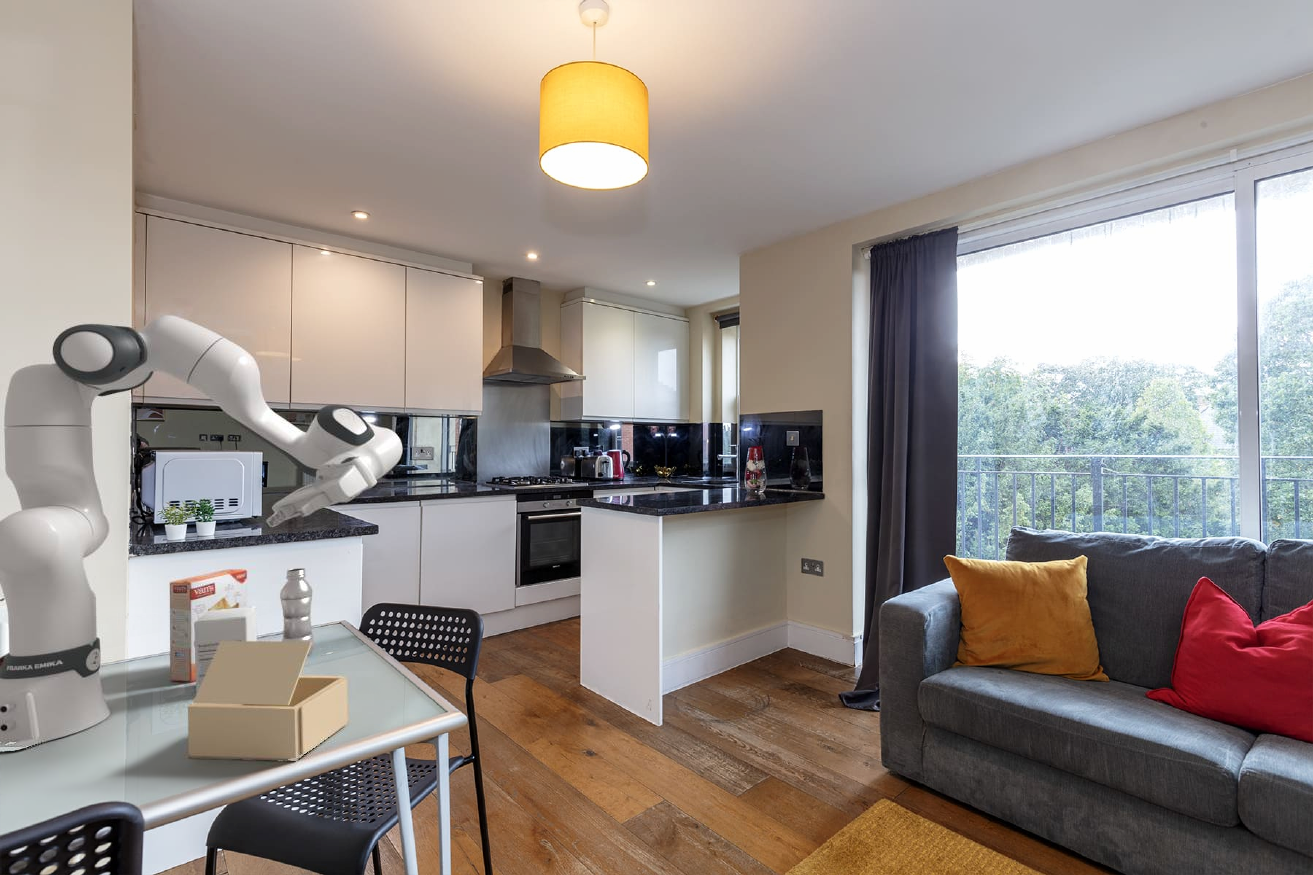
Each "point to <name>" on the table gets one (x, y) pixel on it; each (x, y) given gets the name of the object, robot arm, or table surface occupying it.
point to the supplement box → (221, 634)
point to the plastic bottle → (297, 608)
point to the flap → (253, 673)
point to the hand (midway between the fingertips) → (285, 518)
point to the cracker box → (199, 613)
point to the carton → (270, 723)
